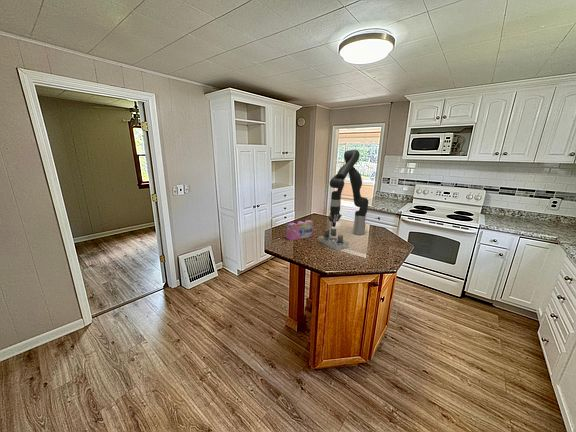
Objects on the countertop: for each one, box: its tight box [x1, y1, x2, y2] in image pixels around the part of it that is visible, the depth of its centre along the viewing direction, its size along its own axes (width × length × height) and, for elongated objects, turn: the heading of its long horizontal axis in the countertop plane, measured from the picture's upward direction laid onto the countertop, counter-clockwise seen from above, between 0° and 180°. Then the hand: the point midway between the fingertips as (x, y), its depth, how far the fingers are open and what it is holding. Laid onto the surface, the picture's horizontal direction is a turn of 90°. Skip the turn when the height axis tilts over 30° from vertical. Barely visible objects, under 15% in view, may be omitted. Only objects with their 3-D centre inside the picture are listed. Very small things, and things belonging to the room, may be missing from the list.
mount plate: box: [317, 233, 350, 251], centre depth 184 cm, size 12×22×4 cm, turn 30°
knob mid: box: [330, 227, 337, 237], centre depth 182 cm, size 4×4×5 cm
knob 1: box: [323, 228, 330, 237], centre depth 190 cm, size 4×4×5 cm
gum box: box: [285, 219, 314, 241], centre depth 198 cm, size 24×8×14 cm, turn 119°
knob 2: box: [337, 234, 344, 243], centre depth 176 cm, size 4×4×5 cm
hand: (333, 226), depth 181 cm, fingers closed
